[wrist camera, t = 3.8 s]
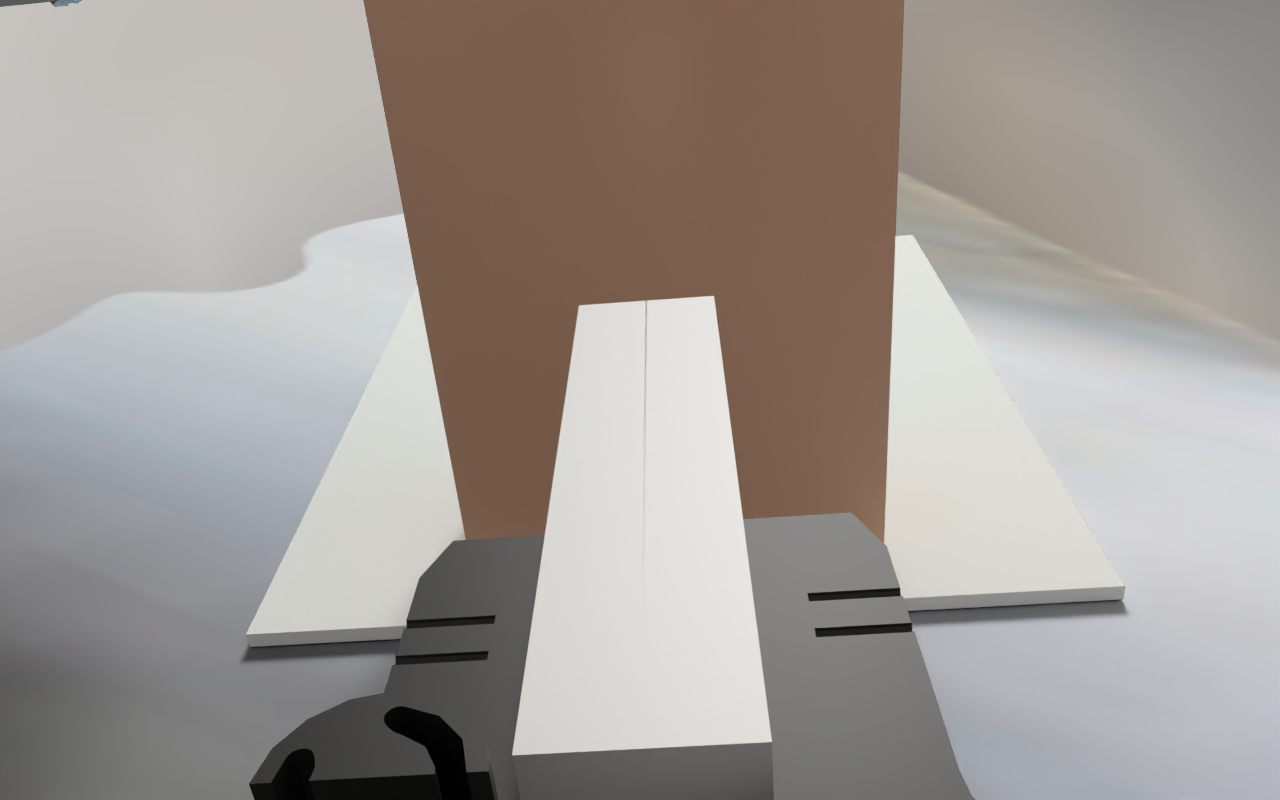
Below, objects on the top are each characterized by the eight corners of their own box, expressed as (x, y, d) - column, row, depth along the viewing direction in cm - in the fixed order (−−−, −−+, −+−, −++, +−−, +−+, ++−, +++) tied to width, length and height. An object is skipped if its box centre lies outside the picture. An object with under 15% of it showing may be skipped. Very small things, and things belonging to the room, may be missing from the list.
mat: (250, 646, 20) (246, 634, 20) (425, 277, 36) (423, 269, 36) (1122, 599, 20) (1125, 585, 19) (912, 243, 35) (912, 235, 35)
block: (471, 571, 21) (344, -100, 16) (493, 477, 24) (394, -116, 19) (884, 548, 21) (909, -149, 15) (854, 455, 24) (867, -157, 18)
